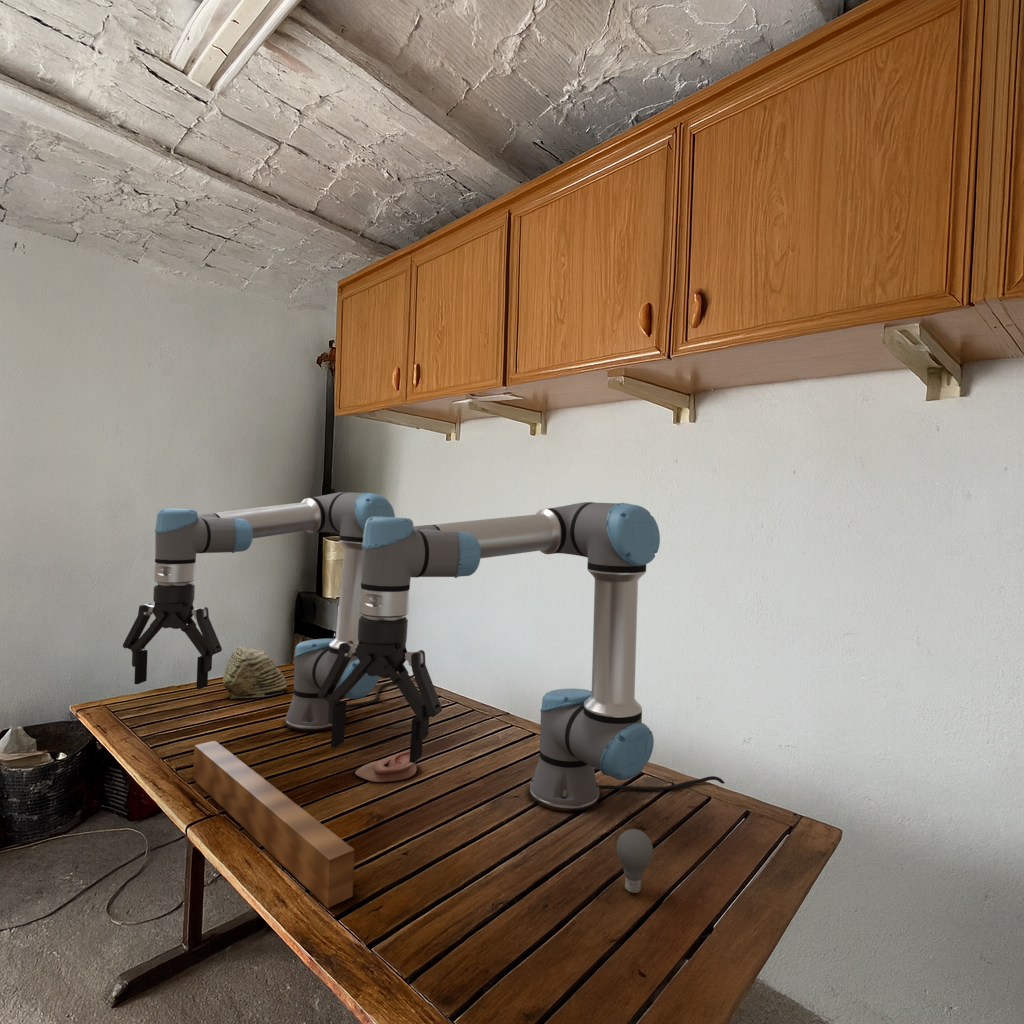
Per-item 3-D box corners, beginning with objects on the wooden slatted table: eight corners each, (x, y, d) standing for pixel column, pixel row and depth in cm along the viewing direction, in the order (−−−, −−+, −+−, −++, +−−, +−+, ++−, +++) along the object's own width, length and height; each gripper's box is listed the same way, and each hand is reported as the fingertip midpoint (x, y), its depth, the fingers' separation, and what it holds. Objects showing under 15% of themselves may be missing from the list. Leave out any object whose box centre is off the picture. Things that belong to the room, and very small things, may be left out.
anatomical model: (349, 761, 142) (371, 742, 154) (348, 778, 142) (370, 758, 154) (405, 768, 140) (423, 749, 151) (404, 786, 140) (422, 765, 151)
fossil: (218, 695, 195) (220, 647, 195) (278, 685, 208) (279, 640, 207) (228, 703, 189) (230, 653, 188) (289, 692, 201) (290, 645, 201)
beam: (193, 779, 139) (194, 745, 139) (213, 773, 142) (215, 740, 142) (327, 908, 98) (329, 859, 98) (352, 896, 101) (354, 849, 101)
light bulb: (610, 879, 108) (613, 822, 108) (644, 879, 109) (647, 822, 109) (619, 902, 102) (622, 840, 102) (655, 901, 103) (658, 840, 103)
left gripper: (105, 581, 129) (101, 685, 129) (221, 588, 126) (217, 694, 127) (131, 577, 136) (127, 675, 136) (241, 584, 134) (237, 684, 134)
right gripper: (300, 611, 98) (292, 746, 99) (448, 629, 91) (440, 775, 91) (327, 604, 106) (320, 731, 106) (467, 620, 98) (459, 756, 99)
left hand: (171, 685), depth 131 cm, fingers open, 13 cm apart
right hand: (375, 752), depth 99 cm, fingers open, 13 cm apart
